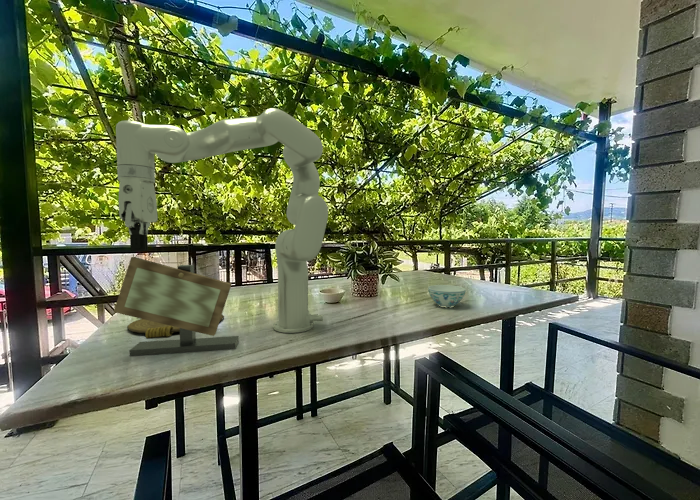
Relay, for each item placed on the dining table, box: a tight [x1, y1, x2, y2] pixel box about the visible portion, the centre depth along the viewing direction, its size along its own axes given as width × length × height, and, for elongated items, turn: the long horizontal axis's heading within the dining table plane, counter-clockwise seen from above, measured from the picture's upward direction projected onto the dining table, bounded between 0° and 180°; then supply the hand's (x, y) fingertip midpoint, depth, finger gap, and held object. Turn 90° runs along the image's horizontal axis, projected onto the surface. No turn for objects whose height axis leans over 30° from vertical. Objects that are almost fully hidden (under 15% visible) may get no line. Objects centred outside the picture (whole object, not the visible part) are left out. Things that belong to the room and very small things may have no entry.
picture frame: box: [113, 256, 232, 337], centre depth 80 cm, size 24×2×14 cm, turn 101°
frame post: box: [128, 264, 240, 357], centre depth 83 cm, size 25×6×22 cm, turn 102°
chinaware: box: [427, 284, 467, 307], centre depth 131 cm, size 15×15×8 cm
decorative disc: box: [126, 314, 225, 339], centre depth 106 cm, size 29×3×30 cm
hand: (139, 250), depth 78 cm, fingers closed
